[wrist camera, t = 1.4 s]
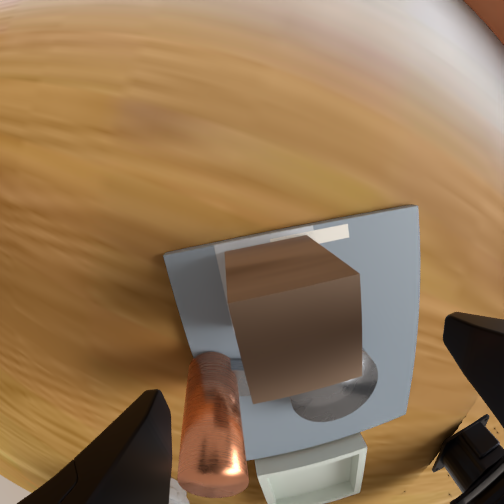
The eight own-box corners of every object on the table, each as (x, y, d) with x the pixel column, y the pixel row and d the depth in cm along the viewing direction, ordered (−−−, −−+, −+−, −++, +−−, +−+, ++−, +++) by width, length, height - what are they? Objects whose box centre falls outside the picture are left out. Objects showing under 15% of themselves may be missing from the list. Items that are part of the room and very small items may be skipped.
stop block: (315, 309, 16) (361, 376, 10) (240, 325, 15) (253, 404, 10) (306, 235, 15) (359, 273, 9) (224, 251, 14) (227, 303, 9)
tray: (353, 477, 22) (360, 492, 20) (269, 499, 21) (272, 515, 19) (358, 429, 19) (367, 446, 18) (254, 456, 19) (256, 476, 17)
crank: (372, 331, 16) (444, 412, 9) (352, 396, 17) (401, 481, 10) (188, 331, 15) (171, 442, 8) (190, 402, 16) (182, 507, 9)
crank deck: (402, 409, 20) (405, 414, 19) (233, 456, 19) (233, 462, 18) (412, 204, 15) (418, 205, 15) (165, 252, 15) (163, 255, 14)
